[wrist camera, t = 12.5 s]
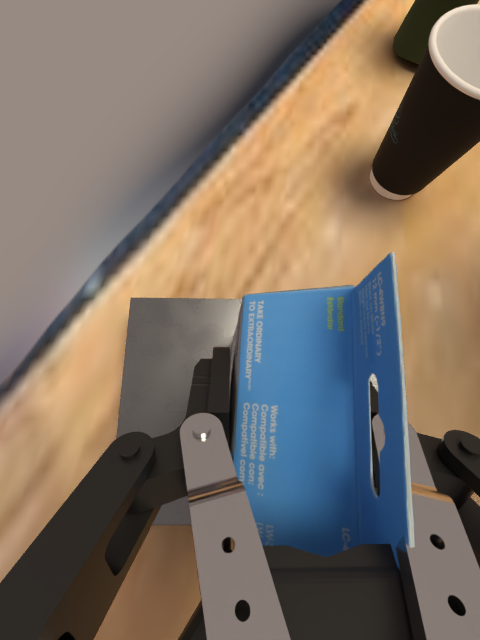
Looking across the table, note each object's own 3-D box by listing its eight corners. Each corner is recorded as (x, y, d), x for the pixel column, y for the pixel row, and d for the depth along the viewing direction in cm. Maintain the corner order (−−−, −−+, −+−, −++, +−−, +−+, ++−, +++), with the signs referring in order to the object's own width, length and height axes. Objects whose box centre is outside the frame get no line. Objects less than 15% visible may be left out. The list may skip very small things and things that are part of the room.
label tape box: (232, 332, 19) (235, 230, 7) (294, 337, 19) (405, 244, 7) (221, 480, 16) (194, 718, 5) (290, 484, 17) (443, 733, 5)
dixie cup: (447, 201, 27) (586, 82, 17) (375, 224, 26) (473, 112, 16) (410, 138, 29) (514, -7, 18) (341, 157, 28) (409, 16, 18)
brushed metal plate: (357, 315, 24) (381, 301, 20) (375, 497, 21) (409, 521, 17) (146, 312, 24) (130, 297, 20) (131, 499, 20) (107, 525, 16)
